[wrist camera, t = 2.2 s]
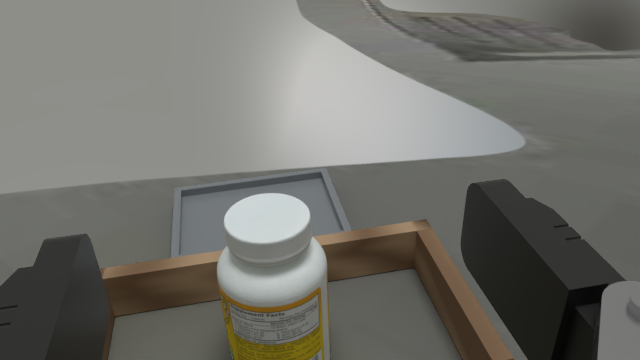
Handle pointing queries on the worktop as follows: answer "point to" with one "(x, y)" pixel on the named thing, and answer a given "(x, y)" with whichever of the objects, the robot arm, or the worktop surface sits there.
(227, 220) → the supplement bottle
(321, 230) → the tray
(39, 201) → the worktop surface
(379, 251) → the wooden frame
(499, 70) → the worktop surface
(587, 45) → the worktop surface
